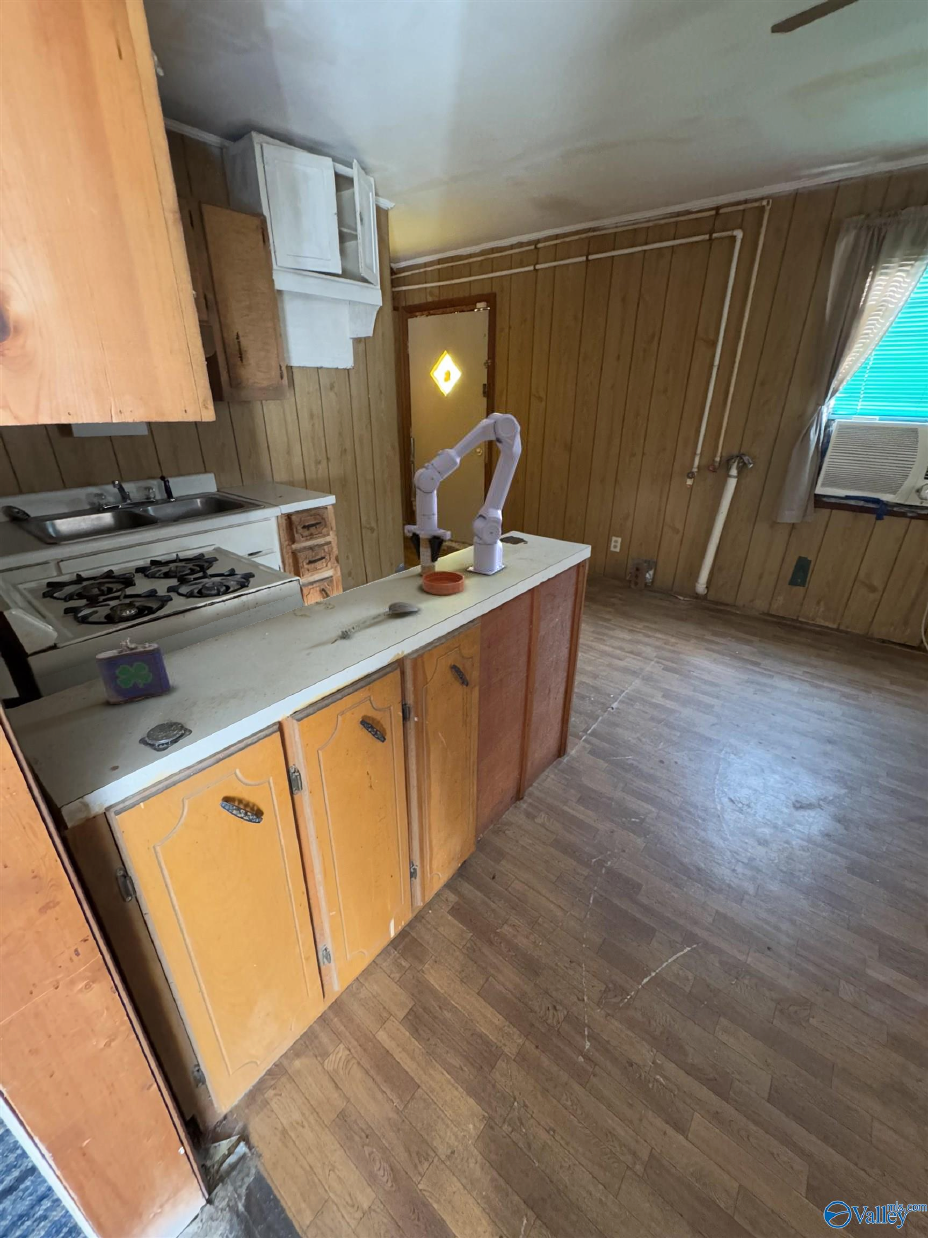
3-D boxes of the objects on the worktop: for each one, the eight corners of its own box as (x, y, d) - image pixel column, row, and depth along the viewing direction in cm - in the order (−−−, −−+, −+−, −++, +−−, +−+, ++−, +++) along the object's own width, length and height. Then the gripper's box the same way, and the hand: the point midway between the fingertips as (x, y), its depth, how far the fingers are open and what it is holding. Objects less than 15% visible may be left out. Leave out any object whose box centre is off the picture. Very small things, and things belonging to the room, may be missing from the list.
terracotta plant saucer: (437, 578, 145) (437, 568, 143) (472, 585, 139) (472, 575, 138) (413, 590, 136) (413, 579, 134) (450, 598, 130) (450, 587, 129)
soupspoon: (424, 614, 122) (405, 608, 126) (423, 600, 121) (404, 595, 125) (352, 641, 107) (333, 634, 110) (351, 626, 105) (332, 619, 109)
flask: (108, 706, 84) (90, 649, 80) (111, 697, 86) (93, 641, 82) (171, 693, 88) (157, 638, 83) (171, 685, 90) (157, 631, 86)
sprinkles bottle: (429, 571, 150) (429, 526, 145) (439, 575, 147) (438, 529, 142) (417, 574, 148) (415, 529, 142) (426, 578, 145) (425, 532, 139)
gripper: (397, 512, 140) (399, 559, 146) (440, 519, 134) (441, 568, 139) (412, 508, 146) (413, 553, 152) (454, 514, 139) (454, 561, 145)
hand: (427, 560), depth 146 cm, fingers closed on sprinkles bottle, 4 cm apart
